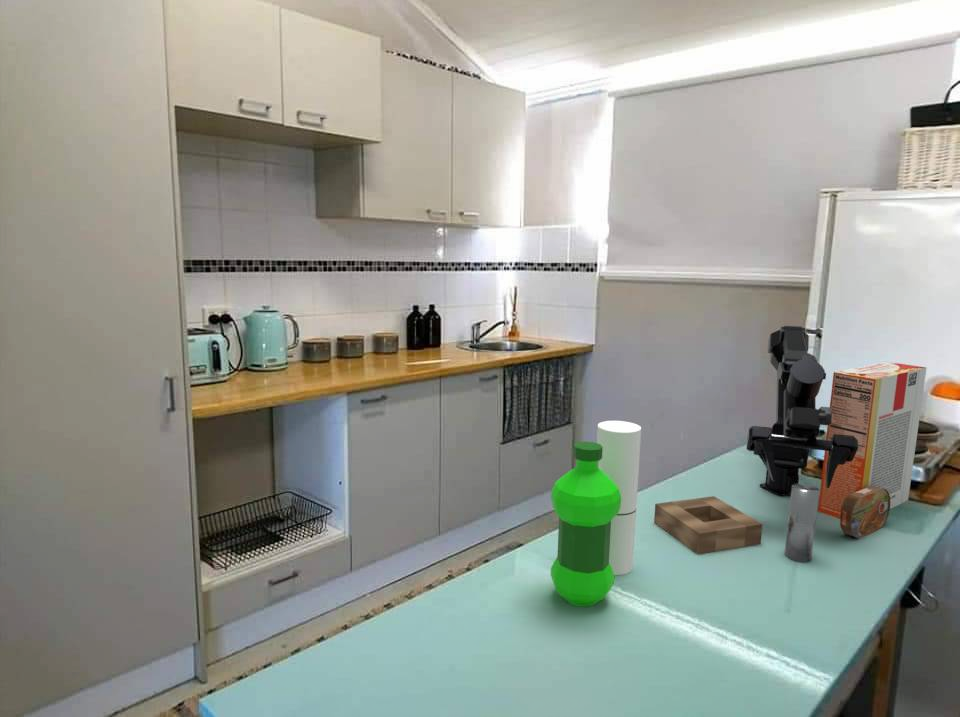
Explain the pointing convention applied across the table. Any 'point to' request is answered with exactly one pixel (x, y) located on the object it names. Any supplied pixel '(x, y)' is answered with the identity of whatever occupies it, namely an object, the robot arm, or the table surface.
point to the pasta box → (874, 431)
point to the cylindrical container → (621, 486)
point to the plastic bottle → (584, 528)
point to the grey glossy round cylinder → (801, 522)
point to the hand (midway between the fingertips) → (800, 483)
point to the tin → (865, 511)
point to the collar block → (707, 524)
